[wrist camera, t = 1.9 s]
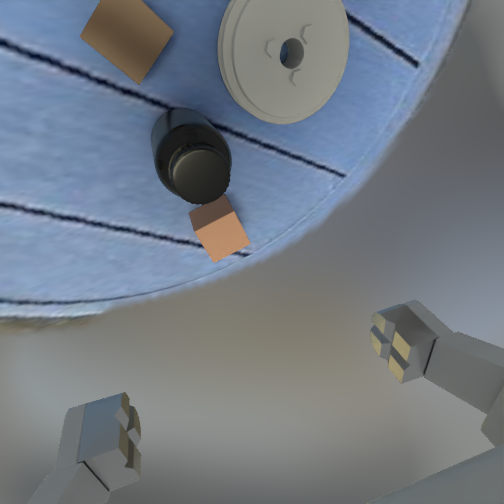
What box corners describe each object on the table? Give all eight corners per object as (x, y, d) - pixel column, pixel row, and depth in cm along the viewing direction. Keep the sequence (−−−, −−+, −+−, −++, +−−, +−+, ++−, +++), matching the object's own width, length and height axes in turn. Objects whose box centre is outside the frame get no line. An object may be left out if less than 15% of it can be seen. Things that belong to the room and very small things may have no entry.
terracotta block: (224, 193, 40) (234, 211, 36) (240, 224, 43) (250, 243, 39) (188, 212, 40) (194, 231, 36) (207, 241, 43) (214, 262, 39)
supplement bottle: (193, 182, 38) (211, 230, 28) (138, 148, 34) (138, 191, 24) (226, 132, 36) (258, 166, 26) (173, 91, 32) (186, 113, 23)
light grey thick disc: (276, 140, 38) (292, 152, 34) (189, 58, 31) (196, 60, 27) (353, 47, 35) (381, 48, 31) (275, -68, 28) (298, -86, 24)
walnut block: (118, -16, 27) (115, -26, 23) (169, 33, 30) (173, 31, 26) (88, 37, 28) (79, 36, 24) (139, 79, 31) (139, 85, 27)
